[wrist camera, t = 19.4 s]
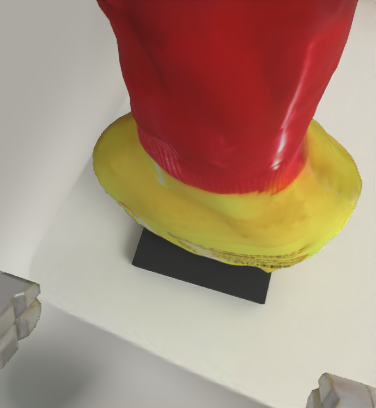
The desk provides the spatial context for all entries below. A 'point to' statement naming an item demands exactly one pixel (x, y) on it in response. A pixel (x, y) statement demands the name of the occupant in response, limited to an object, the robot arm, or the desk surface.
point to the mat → (200, 269)
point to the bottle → (230, 126)
